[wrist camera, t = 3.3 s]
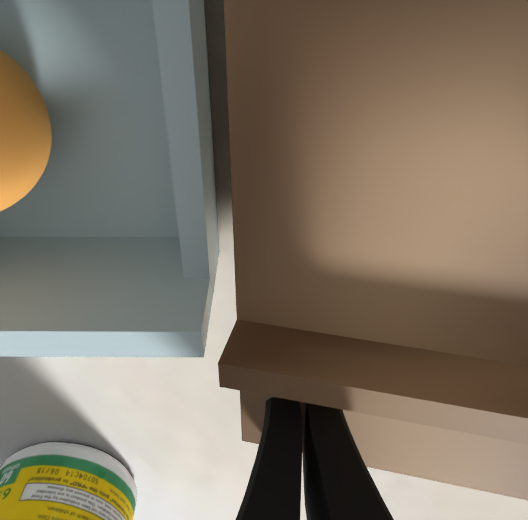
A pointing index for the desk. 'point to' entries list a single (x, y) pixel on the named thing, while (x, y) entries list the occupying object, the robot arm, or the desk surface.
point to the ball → (21, 132)
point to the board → (384, 227)
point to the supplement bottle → (65, 484)
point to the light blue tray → (113, 183)
